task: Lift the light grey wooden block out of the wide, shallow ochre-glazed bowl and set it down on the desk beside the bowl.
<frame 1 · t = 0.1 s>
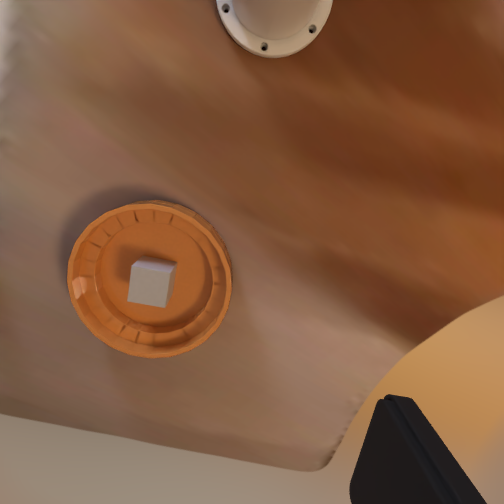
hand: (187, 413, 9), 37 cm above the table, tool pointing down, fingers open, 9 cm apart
bowl: (158, 273, 46), on the table
block: (157, 275, 45), point 1 cm above the table, touching bowl
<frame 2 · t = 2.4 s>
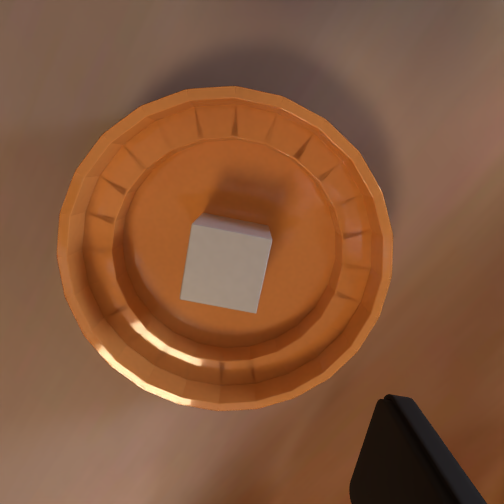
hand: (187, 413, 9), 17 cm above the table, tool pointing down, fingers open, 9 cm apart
bowl: (230, 249, 25), on the table
block: (229, 251, 24), point 1 cm above the table, touching bowl
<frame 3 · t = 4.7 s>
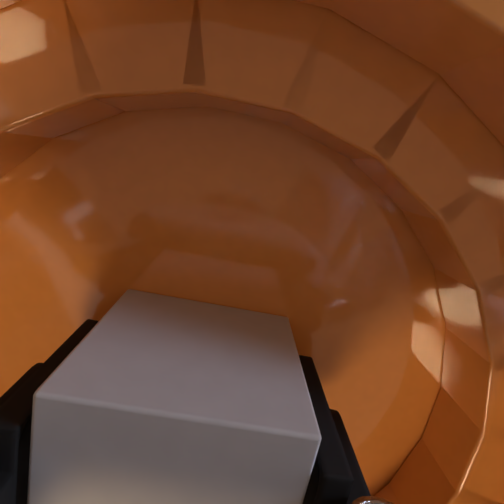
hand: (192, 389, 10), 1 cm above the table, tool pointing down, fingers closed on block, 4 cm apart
bowl: (199, 361, 11), on the table
block: (196, 372, 10), point 1 cm above the table, touching bowl, gripper
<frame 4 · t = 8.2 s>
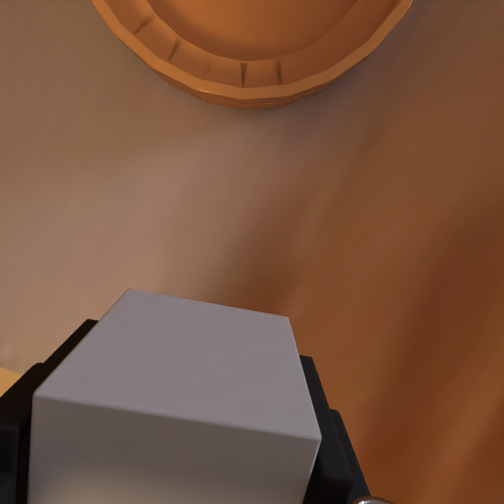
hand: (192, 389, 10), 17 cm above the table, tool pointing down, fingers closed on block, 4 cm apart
block: (196, 372, 10), point 16 cm above the table, touching gripper
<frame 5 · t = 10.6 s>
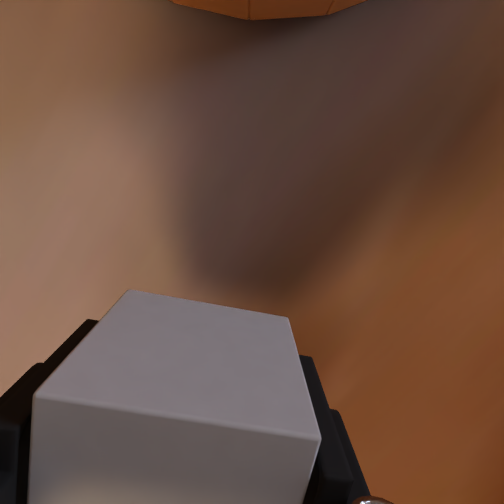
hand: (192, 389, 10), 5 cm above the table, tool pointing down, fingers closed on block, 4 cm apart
block: (196, 373, 10), point 5 cm above the table, touching gripper
when the fingers open (1 cm above the table, at t = 12.1 s): block stays where it is, on the table.
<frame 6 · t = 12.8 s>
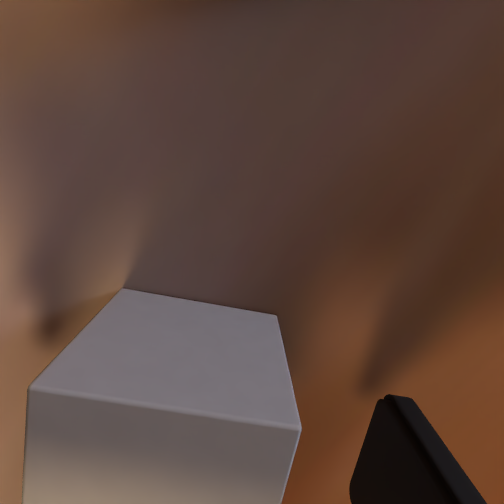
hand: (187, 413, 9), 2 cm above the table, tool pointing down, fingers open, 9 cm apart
block: (188, 369, 11), on the table
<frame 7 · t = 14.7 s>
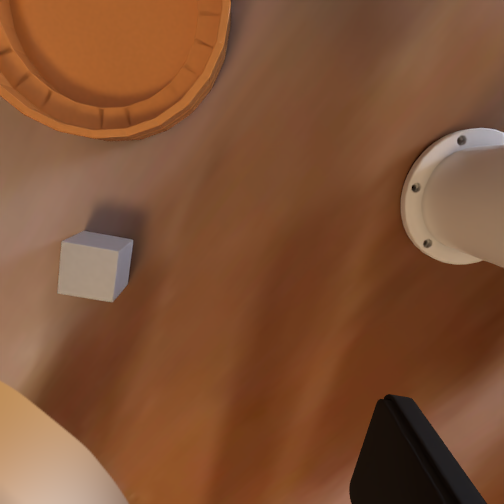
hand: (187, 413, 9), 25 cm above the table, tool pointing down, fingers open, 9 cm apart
bowl: (109, 15, 28), on the table
block: (106, 258, 33), on the table
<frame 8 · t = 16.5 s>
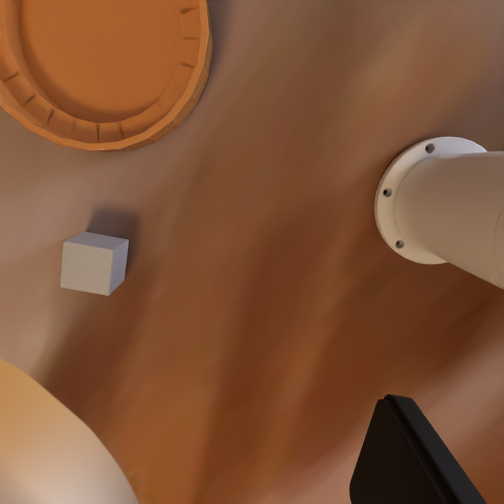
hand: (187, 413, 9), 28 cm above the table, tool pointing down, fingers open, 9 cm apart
bowl: (105, 40, 32), on the table
block: (105, 256, 37), on the table
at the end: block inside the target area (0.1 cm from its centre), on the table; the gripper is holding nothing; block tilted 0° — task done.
